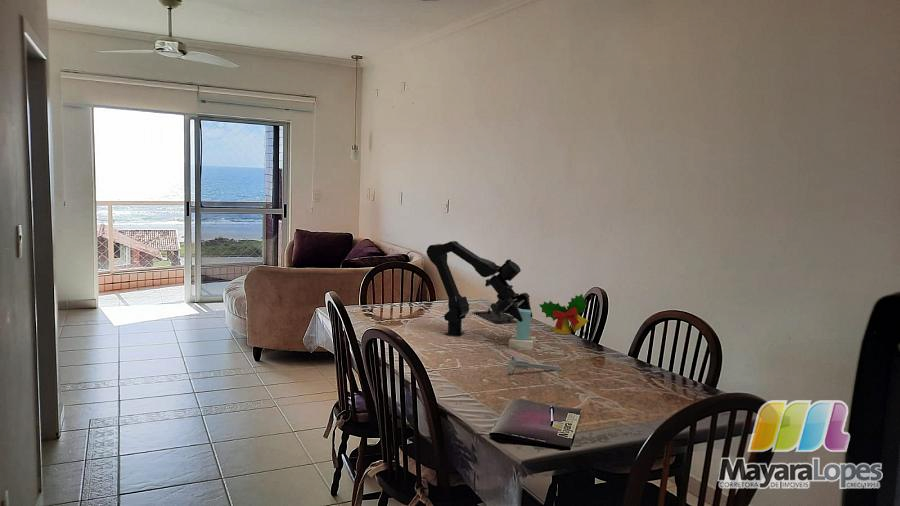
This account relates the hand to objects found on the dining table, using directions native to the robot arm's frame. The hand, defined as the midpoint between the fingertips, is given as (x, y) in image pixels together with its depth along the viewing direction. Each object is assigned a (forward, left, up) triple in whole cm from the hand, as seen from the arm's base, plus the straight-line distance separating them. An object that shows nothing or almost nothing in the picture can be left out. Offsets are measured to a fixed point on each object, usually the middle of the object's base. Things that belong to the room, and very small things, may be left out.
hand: (526, 319), depth 245 cm
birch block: (0, -1, -11) cm, 11 cm away
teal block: (0, -1, -8) cm, 8 cm away
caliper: (+31, +9, -11) cm, 35 cm away
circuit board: (-47, -21, -12) cm, 53 cm away
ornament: (-30, +11, -11) cm, 34 cm away
